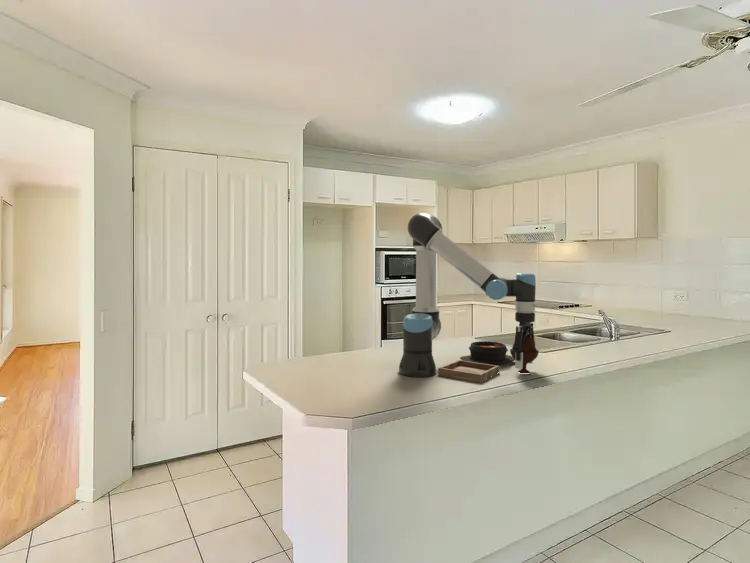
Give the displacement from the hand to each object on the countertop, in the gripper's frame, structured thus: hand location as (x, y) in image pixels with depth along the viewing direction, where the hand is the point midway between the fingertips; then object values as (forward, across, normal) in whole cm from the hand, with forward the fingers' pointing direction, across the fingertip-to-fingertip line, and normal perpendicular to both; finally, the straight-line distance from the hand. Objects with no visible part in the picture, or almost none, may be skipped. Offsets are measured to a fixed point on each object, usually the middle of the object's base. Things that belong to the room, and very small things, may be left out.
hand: (524, 365), depth 191 cm
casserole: (+3, +9, +19) cm, 22 cm away
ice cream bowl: (+3, 0, 0) cm, 3 cm away
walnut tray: (+3, -15, +17) cm, 23 cm away
